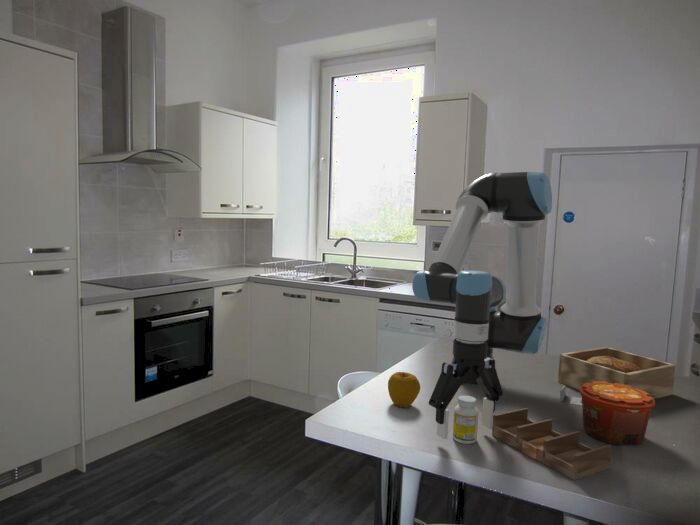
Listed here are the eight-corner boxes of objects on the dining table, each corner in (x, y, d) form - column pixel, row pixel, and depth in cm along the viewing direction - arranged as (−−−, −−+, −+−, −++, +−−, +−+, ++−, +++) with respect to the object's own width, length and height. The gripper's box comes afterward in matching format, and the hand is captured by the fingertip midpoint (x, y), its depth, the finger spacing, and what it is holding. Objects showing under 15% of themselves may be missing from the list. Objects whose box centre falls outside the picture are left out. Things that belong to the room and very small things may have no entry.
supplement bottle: (470, 446, 109) (472, 404, 108) (448, 439, 112) (450, 398, 111) (480, 439, 113) (483, 398, 112) (459, 432, 116) (461, 392, 115)
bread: (567, 383, 154) (569, 352, 153) (590, 373, 166) (593, 344, 165) (639, 403, 139) (642, 369, 138) (659, 390, 151) (662, 358, 150)
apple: (422, 402, 134) (424, 371, 133) (413, 413, 126) (415, 380, 125) (393, 397, 138) (394, 366, 137) (382, 407, 130) (383, 374, 129)
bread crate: (556, 381, 156) (558, 354, 155) (604, 372, 168) (606, 346, 167) (625, 406, 137) (627, 375, 136) (673, 394, 149) (676, 365, 148)
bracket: (598, 411, 134) (599, 399, 133) (559, 402, 139) (560, 391, 139) (601, 404, 139) (602, 392, 139) (563, 396, 144) (564, 384, 144)
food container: (616, 419, 128) (620, 378, 127) (668, 447, 112) (672, 402, 111) (562, 422, 124) (565, 381, 123) (608, 452, 109) (612, 405, 108)
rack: (491, 435, 115) (492, 415, 115) (524, 426, 120) (526, 407, 120) (573, 480, 96) (575, 456, 95) (609, 468, 101) (611, 445, 101)
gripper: (437, 349, 101) (432, 448, 103) (522, 339, 113) (516, 428, 115) (415, 340, 108) (411, 434, 109) (498, 331, 120) (492, 416, 121)
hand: (465, 431), depth 112 cm, fingers open, 13 cm apart
